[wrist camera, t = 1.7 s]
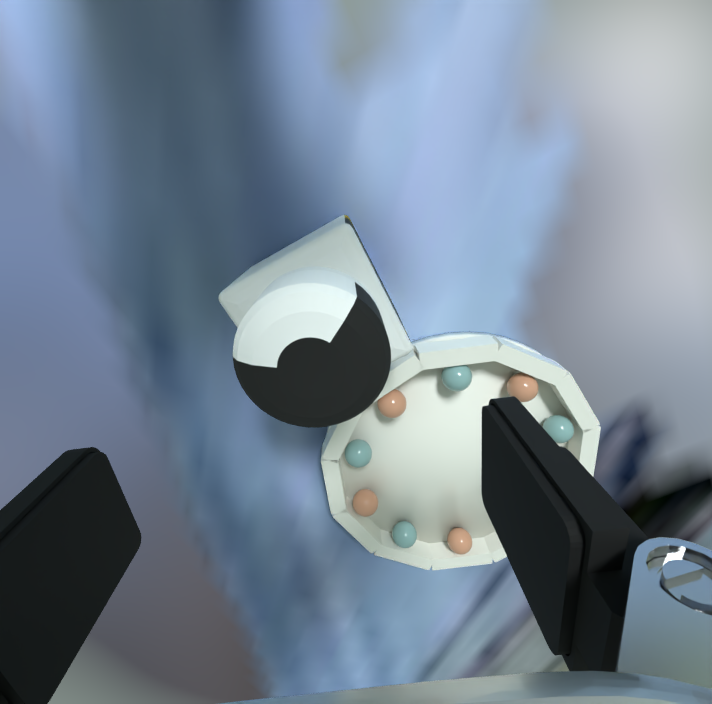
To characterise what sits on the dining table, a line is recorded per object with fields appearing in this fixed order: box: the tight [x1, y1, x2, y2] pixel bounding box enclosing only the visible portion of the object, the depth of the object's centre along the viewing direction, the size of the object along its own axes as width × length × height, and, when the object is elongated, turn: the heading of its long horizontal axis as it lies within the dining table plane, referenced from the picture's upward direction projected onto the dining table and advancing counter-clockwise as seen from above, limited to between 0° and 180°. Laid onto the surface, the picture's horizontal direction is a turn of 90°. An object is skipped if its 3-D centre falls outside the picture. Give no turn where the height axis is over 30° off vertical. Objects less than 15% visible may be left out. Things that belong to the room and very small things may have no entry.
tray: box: [321, 332, 601, 570], centre depth 29 cm, size 20×20×3 cm
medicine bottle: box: [219, 215, 412, 427], centre depth 19 cm, size 7×7×12 cm
